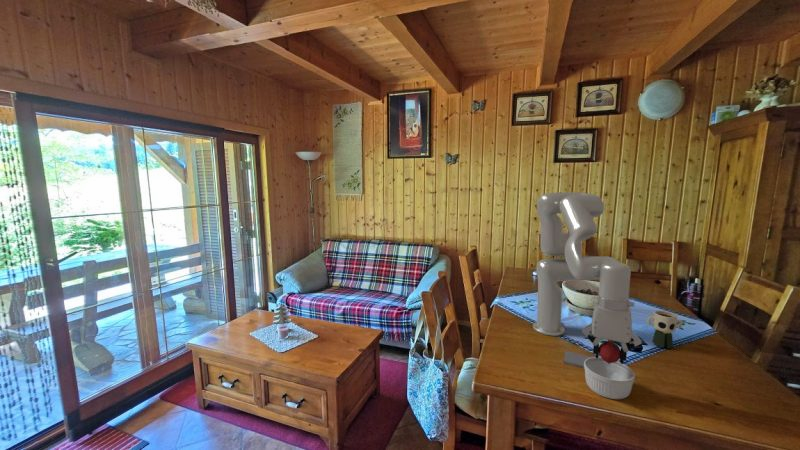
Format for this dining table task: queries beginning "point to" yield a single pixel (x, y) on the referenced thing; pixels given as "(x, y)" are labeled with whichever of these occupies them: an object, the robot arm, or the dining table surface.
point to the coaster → (575, 359)
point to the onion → (609, 352)
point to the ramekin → (608, 378)
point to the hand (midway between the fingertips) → (609, 358)
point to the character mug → (664, 327)
